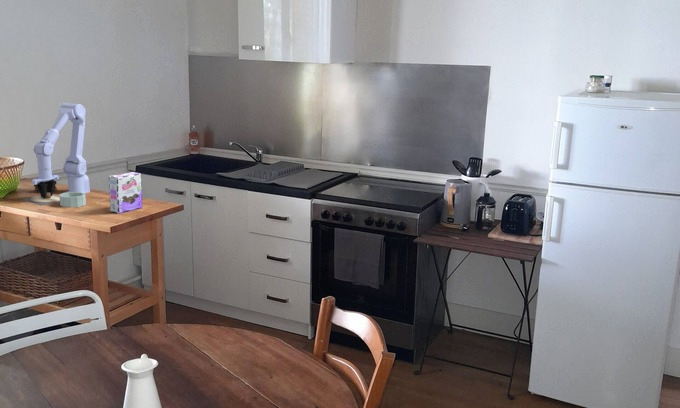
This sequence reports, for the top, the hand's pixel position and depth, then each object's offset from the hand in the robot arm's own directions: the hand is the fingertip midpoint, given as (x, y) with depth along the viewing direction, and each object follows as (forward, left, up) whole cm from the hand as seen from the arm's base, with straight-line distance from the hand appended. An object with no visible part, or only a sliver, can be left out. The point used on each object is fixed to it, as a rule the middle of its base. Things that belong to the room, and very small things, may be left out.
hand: (46, 196), depth 298 cm
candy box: (-14, +40, -2) cm, 42 cm away
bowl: (-3, +16, -2) cm, 16 cm away
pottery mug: (-10, -17, -2) cm, 20 cm away
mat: (0, 0, -2) cm, 2 cm away
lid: (0, 0, -1) cm, 1 cm away
